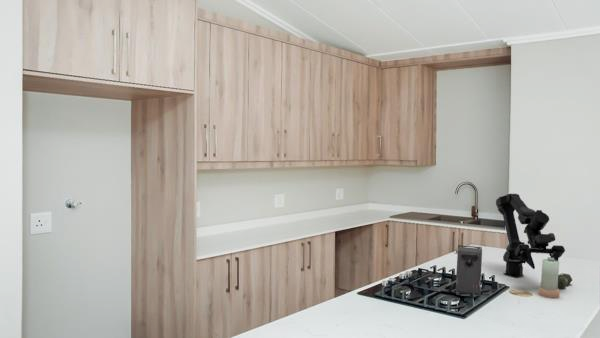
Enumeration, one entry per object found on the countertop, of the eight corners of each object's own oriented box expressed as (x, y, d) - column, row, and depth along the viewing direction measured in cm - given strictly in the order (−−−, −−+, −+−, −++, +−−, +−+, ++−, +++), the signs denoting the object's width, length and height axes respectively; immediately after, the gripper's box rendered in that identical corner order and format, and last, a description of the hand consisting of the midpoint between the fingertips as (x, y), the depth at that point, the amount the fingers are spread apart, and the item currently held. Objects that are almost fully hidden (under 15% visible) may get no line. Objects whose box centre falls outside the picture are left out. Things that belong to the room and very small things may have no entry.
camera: (479, 297, 214) (481, 249, 218) (480, 298, 198) (482, 246, 202) (452, 294, 217) (454, 247, 221) (450, 295, 202) (453, 243, 206)
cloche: (539, 288, 204) (541, 258, 204) (542, 285, 209) (544, 255, 209) (555, 291, 201) (557, 260, 200) (558, 288, 206) (560, 258, 205)
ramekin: (534, 294, 206) (534, 287, 206) (544, 292, 210) (544, 284, 210) (553, 300, 200) (553, 292, 200) (563, 297, 204) (563, 289, 204)
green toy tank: (572, 284, 226) (562, 293, 212) (559, 282, 230) (549, 290, 216) (573, 270, 226) (563, 278, 212) (560, 268, 229) (550, 276, 215)
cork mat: (504, 292, 208) (504, 291, 208) (516, 289, 213) (516, 288, 213) (525, 298, 200) (525, 297, 200) (537, 295, 206) (537, 294, 206)
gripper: (519, 225, 213) (529, 257, 202) (564, 226, 213) (576, 259, 203) (510, 239, 221) (519, 272, 211) (553, 241, 221) (565, 273, 211)
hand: (545, 268), depth 209 cm, fingers open, 9 cm apart
